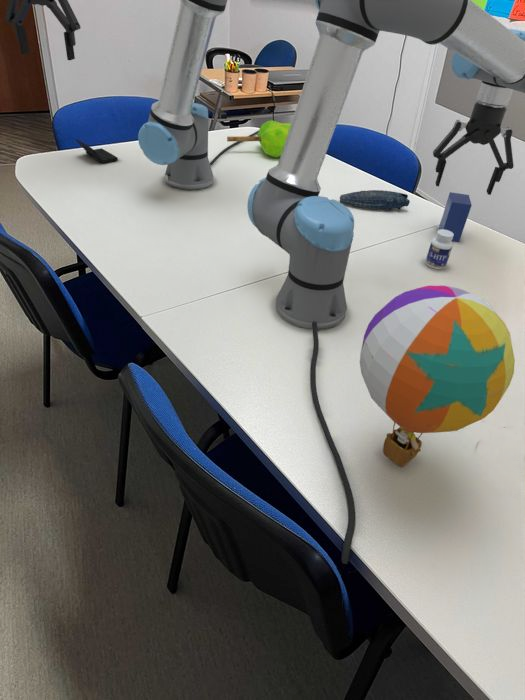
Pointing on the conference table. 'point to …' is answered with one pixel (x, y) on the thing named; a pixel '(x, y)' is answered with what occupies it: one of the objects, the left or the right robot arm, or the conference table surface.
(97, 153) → the black handled piece
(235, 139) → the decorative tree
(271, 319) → the conference table surface
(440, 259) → the pill bottle
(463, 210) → the brick
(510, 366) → the toy
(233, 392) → the conference table surface
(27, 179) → the conference table surface
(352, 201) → the fish model
